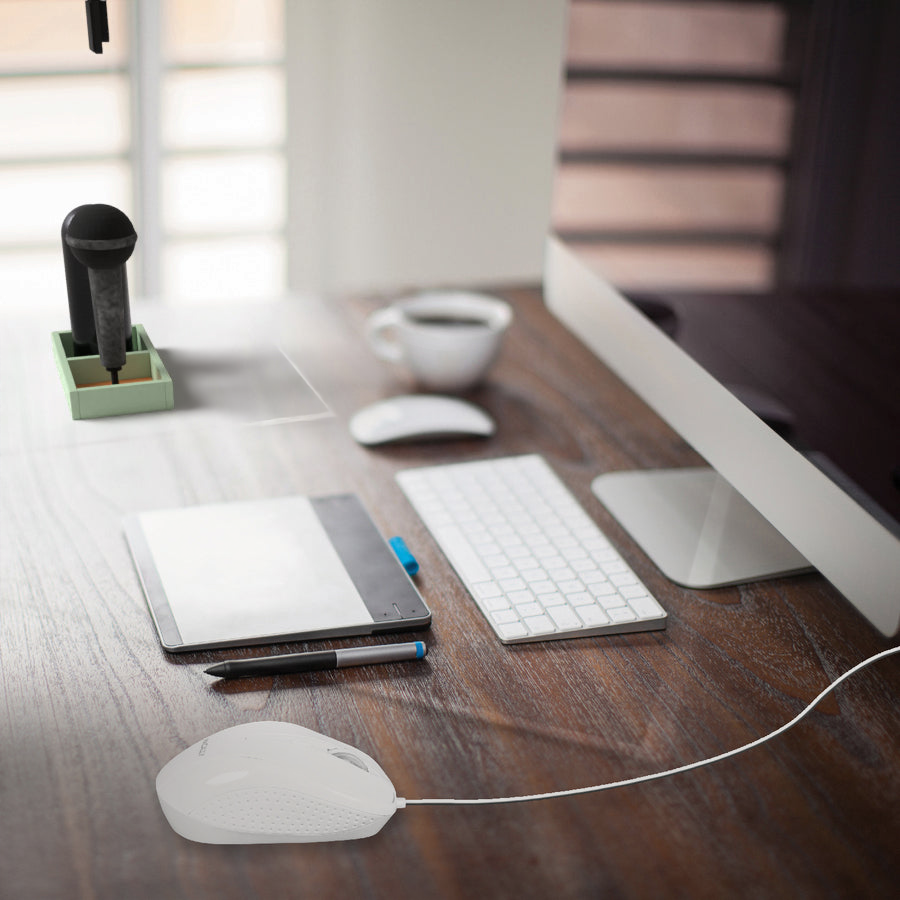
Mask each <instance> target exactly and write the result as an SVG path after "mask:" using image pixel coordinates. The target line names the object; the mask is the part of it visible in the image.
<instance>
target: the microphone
mask: <svg viewBox="0 0 900 900" xmlns="http://www.w3.org/2000/svg"><path fill="white" fill-rule="evenodd" d="M92 204H93V205H89V206H86V207H84V208H82V209H81V210H79V211H78V212H77V213H76V214H75V215H74V217H73V218H72V219H71V222H70V224H69V226H68V231H67V234H66V242H67V244H68V245H69V247H70V249H71V252H72V253H73V255H74V256H75V258H76V259H77V260H79V261H80V262H81V263H82V264H84V265H85V266H87V267H88V273H89V281H90V289H91V296H92V304H93V311H94V319H95V326H96V334H97V341H98V349H99V356H100V364H101V366H103V367H106V371H109V372H111V380H112V384H111V385H115V384H119V380H118V371H120V370H122V366H124V365H125V364H126V346H125V327H124V307H123V288H122V269H121V265H123V264H124V263H125V262H126V263H127V262H128V261H129V259H130V258H131V257H132V256H133V253H134V251H135V247H136V243H137V241H138V237H139V236H138V233H137V231H136V229H135V227H134V225H133V223H132V221H131V219H130V218H129V216H128V215H127V214H125V212H123V211H122V210H120V208H118V207H115V206H114V205H112V204H111V205H110V204H107V203H92Z"/></svg>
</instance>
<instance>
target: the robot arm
mask: <svg viewBox="0 0 900 900" xmlns="http://www.w3.org/2000/svg"><path fill="white" fill-rule="evenodd" d="M84 7H85V16H86V27H87V28H86V29H87V38H88V40H87V41H88V49H89V50H90V51H91V52H92V53H94V54H95V55H103V54H104V48H103V47H104V46H103V43H110V29H109V16H108V4H107V0H84Z"/></svg>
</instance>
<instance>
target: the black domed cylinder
mask: <svg viewBox="0 0 900 900" xmlns="http://www.w3.org/2000/svg"><path fill="white" fill-rule="evenodd" d="M93 204H94V203H85V204H81V205H79V206H76V207H74V208H73V209H71V211H69V212H68V213H67V215H66V216H65V217H64V219H63V221H62V224H61V227H60V228H61V229H60V238H61V247H62V258H63V266H64V275H65V284H66V294H67V303H68V312H69V313H68V314H69V323H70V330H71V332H72V342H73V351H74V357H82V356H93V355H99V349H98V341H97V334H96V326H95V319H94V311H93V304H92V296H91V289H90V281H89V273H88V267H87V266H85V265H84V264H82V263H81V262H80V261H79V260H77V259H76V258H75V256H74V255H73V253H72V252H71V249H70V247H69V245H68V244H67V242H66V234H67V231H68V226H69V224H70V222H71V219H72V218H73V217H74V215H75V214H76V213H77V212H78V211H79V210H81V209H82V208H84V207H86V206H89V205H93ZM127 268H128V267H127V261H126V262H125V263H124V264H123V265H121V269H122V288H123V307H124V327H125V346H126V352H134V350H133V338H132V326H131V325H132V316H131V315H132V314H131V303H130V291H129V280H128V279H129V277H128V269H127Z"/></svg>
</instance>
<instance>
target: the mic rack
mask: <svg viewBox="0 0 900 900" xmlns="http://www.w3.org/2000/svg"><path fill="white" fill-rule="evenodd" d="M131 326H132V338H133V350H134V352H126V364H125V365H124V366H122V370H120V371H118V380H119V384H115V385H111V384H112V380H111V372H109V371H106V367H103V366H101V364H100V356H99V355H93V356H82V357H74V351H73V342H72V332H71V329H68V330H58V331H57V330H56V331H51V332H50V337H51V344H52V354H53V359H55V360H54V364H55V366H56V369H57V373H58V376H59V379H60V384H61V386H62V390H63V393H64V396H65V400H66V403H67V407H68V410H69V413H70V417H71V420H72V421H79V420H87V419H97V418H105V417H115V416H123V415H132V414H138V413H139V414H141V413H149V412H157V411H164V410H165V411H167V410H173V409H175V398H174V385H173V384H174V383H173V380H172V378H171V376H170V374H169V372H168V370H167V368H166V366H165V365H164V362H163V361H162V359H161V357H160V355H159V353H158V352H157V349H156V348H155V346H154V344H153V341H152V340H151V337H150V336H149V334H148V333H147V331H146V329H145V327H144V325H143V323H135V324H131Z"/></svg>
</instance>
